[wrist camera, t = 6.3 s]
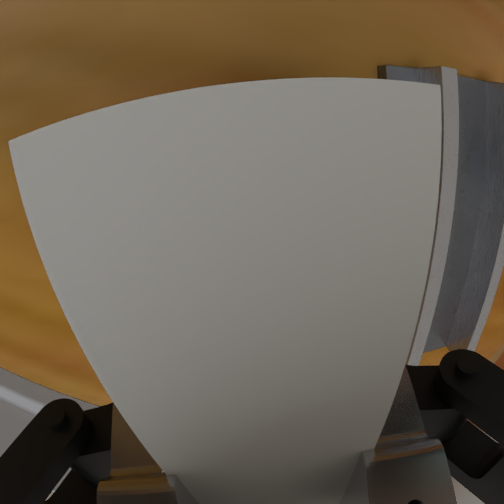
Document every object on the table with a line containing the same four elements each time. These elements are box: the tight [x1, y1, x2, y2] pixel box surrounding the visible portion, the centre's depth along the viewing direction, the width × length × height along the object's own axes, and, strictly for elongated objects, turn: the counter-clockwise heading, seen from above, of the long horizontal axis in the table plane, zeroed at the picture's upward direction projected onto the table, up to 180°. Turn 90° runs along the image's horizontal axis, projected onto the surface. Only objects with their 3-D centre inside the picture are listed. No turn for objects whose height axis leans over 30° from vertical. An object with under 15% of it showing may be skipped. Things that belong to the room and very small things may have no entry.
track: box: [378, 65, 504, 366], centre depth 17 cm, size 20×10×4 cm, turn 6°
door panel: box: [8, 78, 442, 504], centre depth 8 cm, size 12×3×8 cm, turn 6°
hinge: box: [0, 367, 100, 492], centre depth 21 cm, size 17×5×10 cm, turn 71°
